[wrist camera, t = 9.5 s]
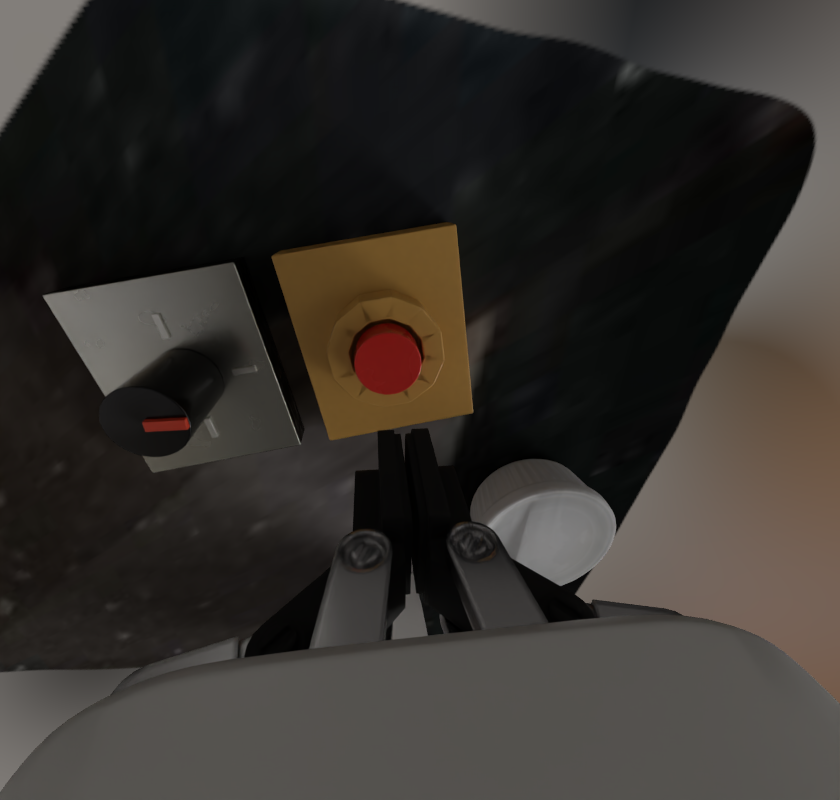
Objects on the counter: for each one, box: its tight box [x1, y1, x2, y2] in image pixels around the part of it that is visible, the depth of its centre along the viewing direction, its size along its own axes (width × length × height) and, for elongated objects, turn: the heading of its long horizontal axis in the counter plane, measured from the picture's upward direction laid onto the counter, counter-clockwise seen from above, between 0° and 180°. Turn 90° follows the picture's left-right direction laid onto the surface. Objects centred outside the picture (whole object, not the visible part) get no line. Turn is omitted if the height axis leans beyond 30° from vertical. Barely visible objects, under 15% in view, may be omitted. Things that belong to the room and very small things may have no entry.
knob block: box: [272, 222, 473, 440], centre depth 23 cm, size 12×10×4 cm
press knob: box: [354, 323, 421, 395], centre depth 21 cm, size 4×4×2 cm
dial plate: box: [42, 257, 304, 473], centre depth 24 cm, size 12×10×2 cm
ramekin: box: [470, 459, 616, 586], centre depth 31 cm, size 11×11×5 cm
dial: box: [99, 349, 224, 457], centre depth 20 cm, size 4×4×5 cm
